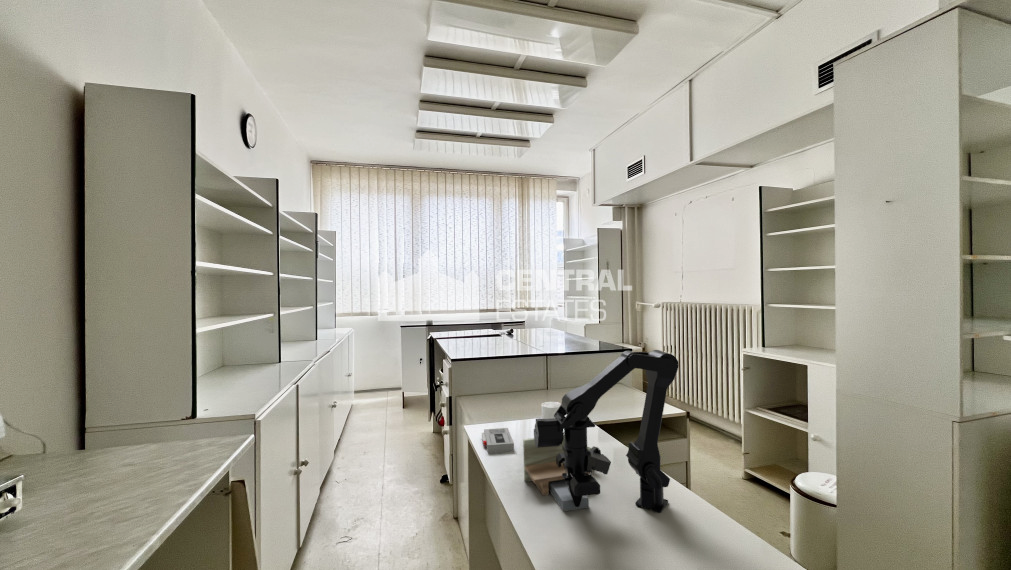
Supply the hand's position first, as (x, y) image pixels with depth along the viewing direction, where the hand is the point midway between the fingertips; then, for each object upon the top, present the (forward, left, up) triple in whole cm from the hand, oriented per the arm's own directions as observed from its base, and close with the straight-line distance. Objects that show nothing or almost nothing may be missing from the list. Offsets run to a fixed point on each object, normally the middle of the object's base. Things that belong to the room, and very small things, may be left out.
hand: (577, 506), depth 107 cm
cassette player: (-26, -42, 0) cm, 49 cm away
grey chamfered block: (-6, -7, -1) cm, 9 cm away
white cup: (-45, -36, -2) cm, 58 cm away
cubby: (-8, -11, -1) cm, 14 cm away
